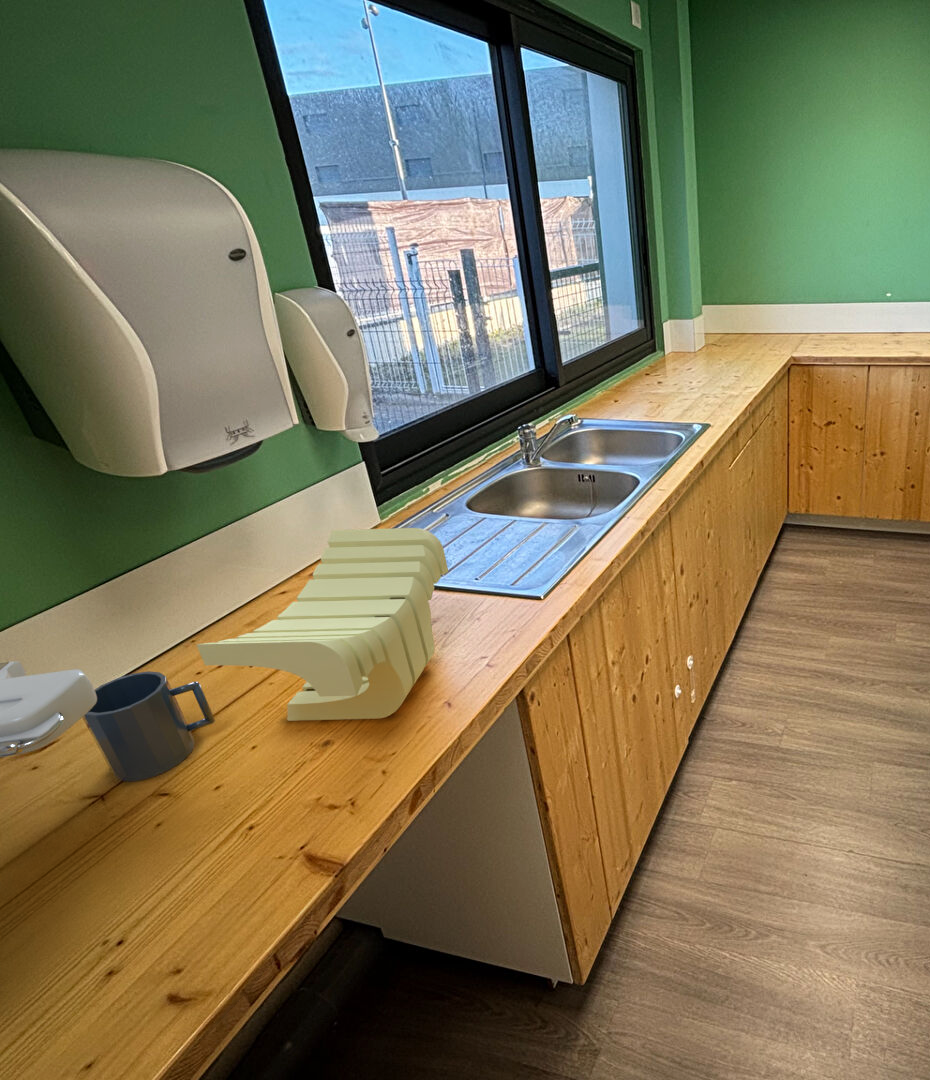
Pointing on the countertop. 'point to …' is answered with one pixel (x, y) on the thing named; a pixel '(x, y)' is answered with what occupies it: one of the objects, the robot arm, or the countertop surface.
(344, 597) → the slatted lounge chair
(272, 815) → the countertop surface
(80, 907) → the countertop surface
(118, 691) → the mug
